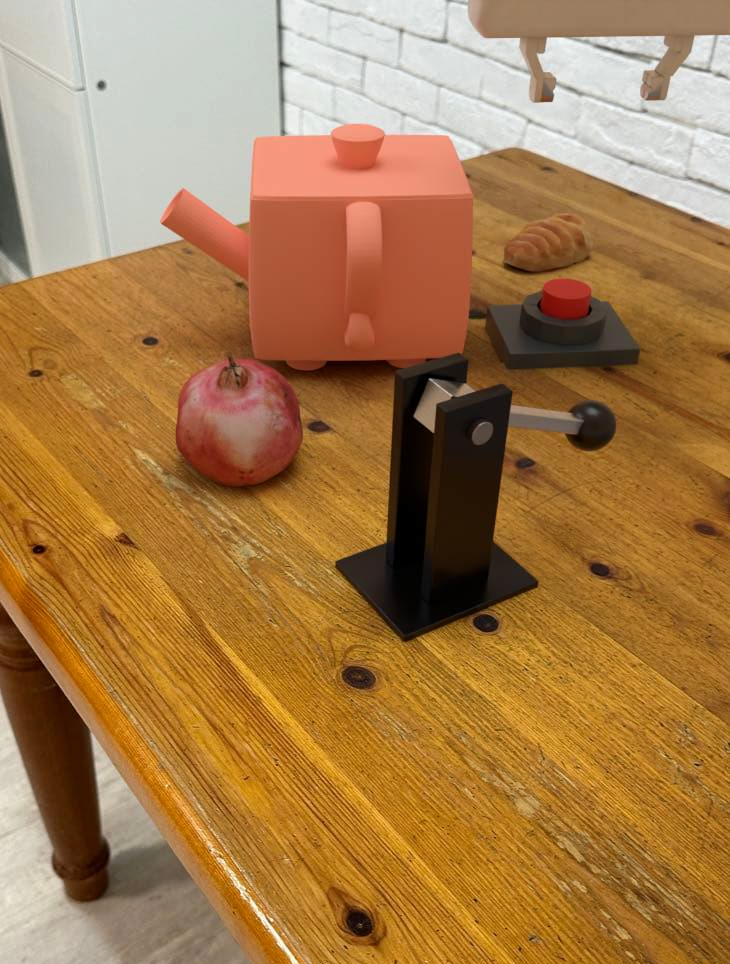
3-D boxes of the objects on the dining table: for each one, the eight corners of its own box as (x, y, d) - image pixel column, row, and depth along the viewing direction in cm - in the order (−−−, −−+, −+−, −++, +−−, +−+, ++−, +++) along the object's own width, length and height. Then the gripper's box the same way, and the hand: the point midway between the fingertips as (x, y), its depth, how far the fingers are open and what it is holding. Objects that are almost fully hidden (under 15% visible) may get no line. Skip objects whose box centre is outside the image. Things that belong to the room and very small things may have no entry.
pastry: (537, 283, 101) (542, 245, 99) (484, 262, 105) (488, 225, 103) (596, 257, 106) (602, 220, 104) (544, 238, 110) (549, 202, 108)
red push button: (580, 299, 90) (584, 277, 89) (593, 320, 87) (597, 298, 86) (535, 301, 90) (538, 279, 89) (546, 322, 87) (550, 299, 86)
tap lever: (578, 438, 68) (600, 393, 67) (612, 462, 66) (635, 416, 65) (405, 418, 59) (426, 367, 58) (437, 446, 57) (460, 393, 56)
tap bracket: (461, 527, 71) (482, 329, 62) (536, 595, 66) (572, 389, 56) (334, 575, 67) (337, 371, 58) (403, 651, 62) (418, 439, 52)
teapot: (160, 405, 83) (135, 182, 72) (181, 283, 101) (164, 89, 90) (472, 400, 84) (495, 178, 73) (438, 280, 102) (453, 87, 91)
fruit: (228, 421, 82) (221, 302, 75) (328, 460, 77) (329, 338, 71) (148, 476, 76) (133, 352, 69) (252, 522, 71) (245, 394, 65)
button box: (604, 323, 95) (611, 281, 92) (635, 372, 88) (645, 329, 85) (484, 327, 94) (489, 286, 92) (507, 377, 87) (512, 334, 85)
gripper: (763, -125, 73) (715, 85, 81) (473, -124, 71) (455, 89, 80) (803, -112, 68) (748, 109, 76) (493, -112, 66) (472, 114, 75)
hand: (596, 99), depth 78 cm, fingers open, 7 cm apart
